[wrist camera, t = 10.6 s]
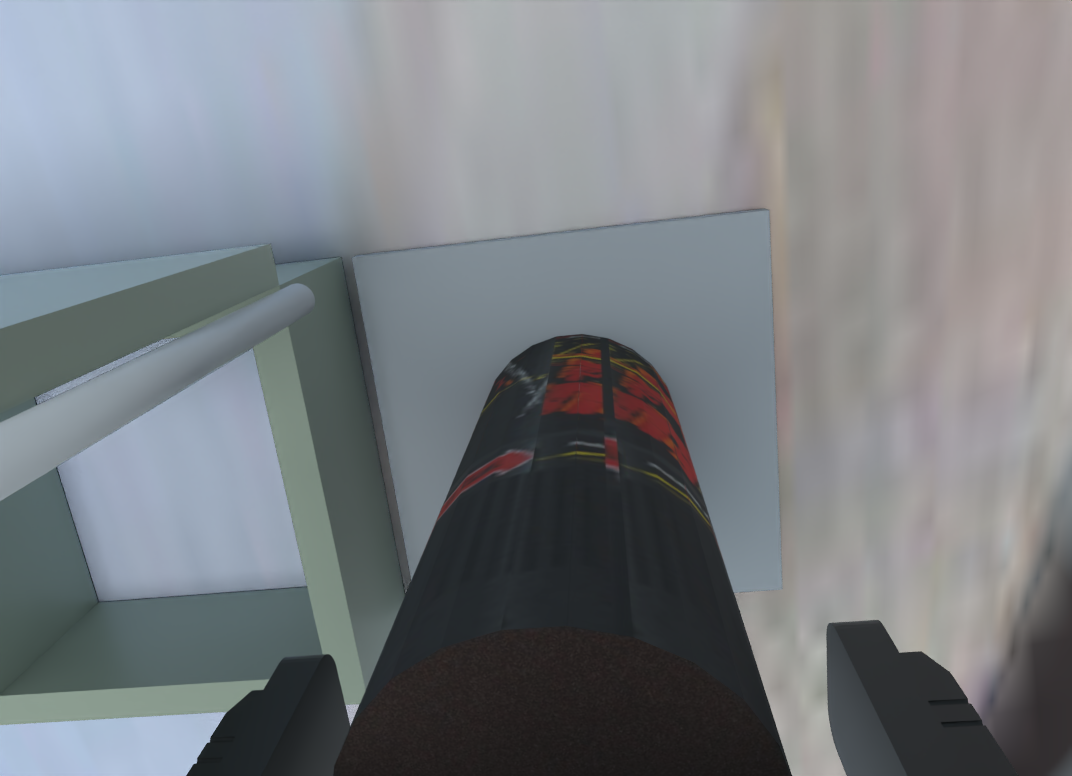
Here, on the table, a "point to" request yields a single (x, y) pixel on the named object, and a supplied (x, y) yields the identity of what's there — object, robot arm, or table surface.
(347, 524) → the case
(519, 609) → the deodorant
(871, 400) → the table surface
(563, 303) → the mat
